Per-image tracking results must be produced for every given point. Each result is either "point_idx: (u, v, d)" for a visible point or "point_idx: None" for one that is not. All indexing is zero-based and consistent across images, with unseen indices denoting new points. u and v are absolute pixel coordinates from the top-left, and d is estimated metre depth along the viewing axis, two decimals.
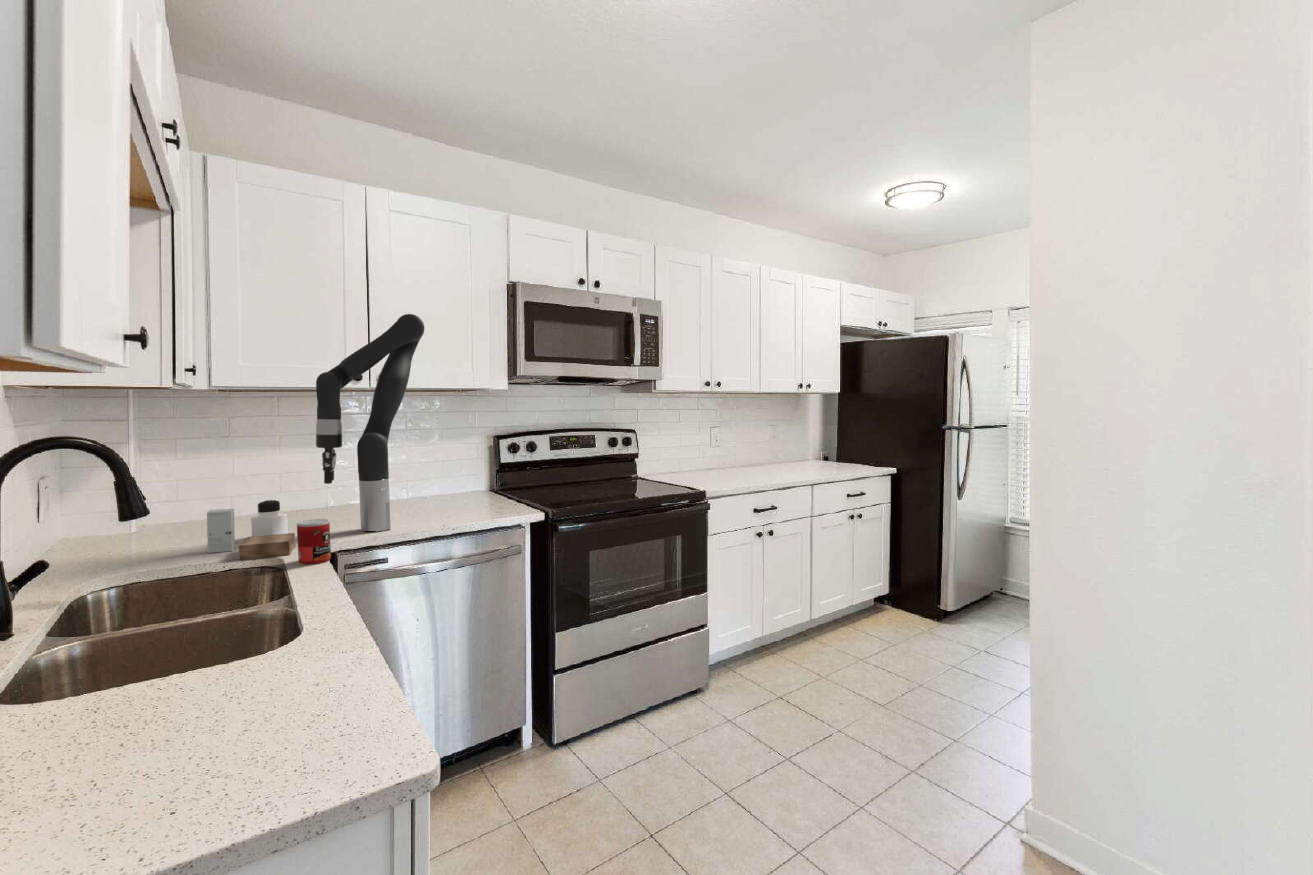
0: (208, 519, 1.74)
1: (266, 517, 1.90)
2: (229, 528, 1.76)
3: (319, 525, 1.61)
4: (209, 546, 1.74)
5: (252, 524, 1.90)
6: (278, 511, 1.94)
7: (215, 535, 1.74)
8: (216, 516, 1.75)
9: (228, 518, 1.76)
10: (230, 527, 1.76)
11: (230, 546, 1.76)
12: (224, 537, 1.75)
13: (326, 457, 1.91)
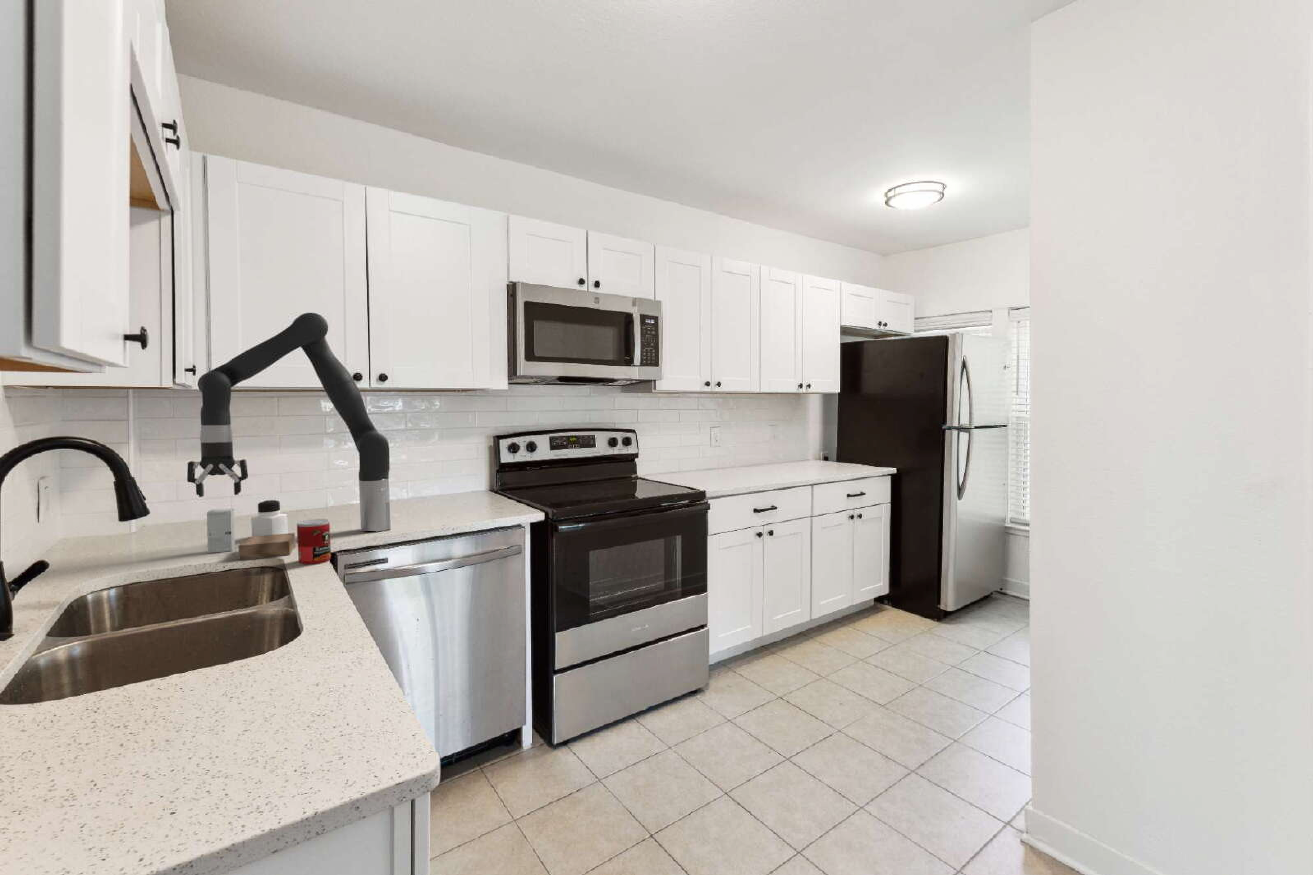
0: (208, 519, 1.74)
1: (266, 517, 1.90)
2: (229, 528, 1.76)
3: (319, 525, 1.61)
4: (209, 546, 1.74)
5: (252, 524, 1.90)
6: (278, 511, 1.94)
7: (215, 535, 1.74)
8: (216, 516, 1.75)
9: (228, 518, 1.76)
10: (230, 527, 1.76)
11: (230, 546, 1.76)
12: (224, 537, 1.75)
13: (245, 465, 1.78)
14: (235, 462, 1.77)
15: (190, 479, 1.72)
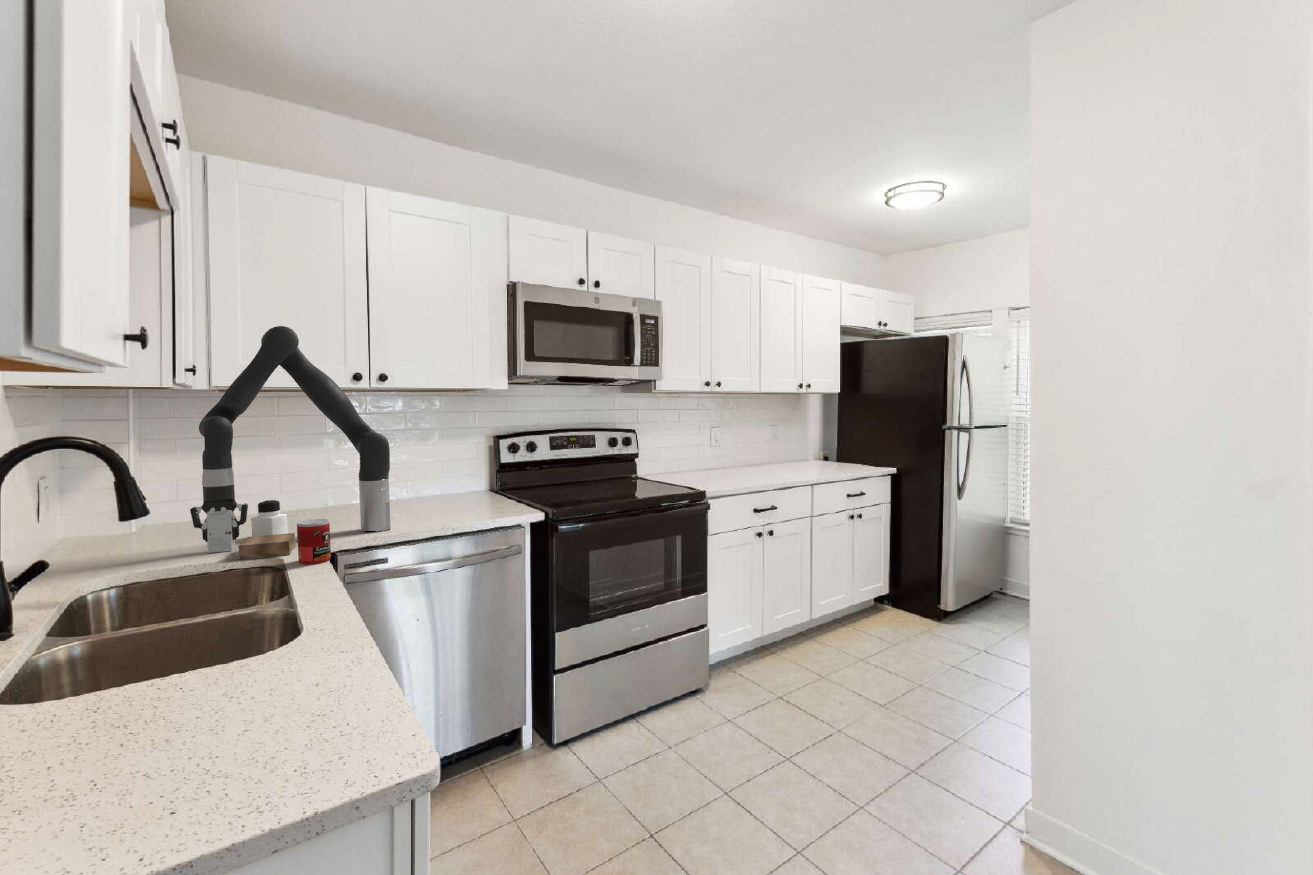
0: (208, 519, 1.74)
1: (266, 517, 1.90)
2: (229, 528, 1.76)
3: (319, 525, 1.61)
4: (209, 546, 1.74)
5: (252, 524, 1.90)
6: (278, 511, 1.94)
7: (215, 535, 1.74)
8: (216, 516, 1.75)
9: (228, 518, 1.76)
10: (230, 527, 1.76)
11: (230, 546, 1.76)
12: (224, 537, 1.75)
13: (246, 510, 1.79)
14: (237, 506, 1.78)
15: (196, 525, 1.73)
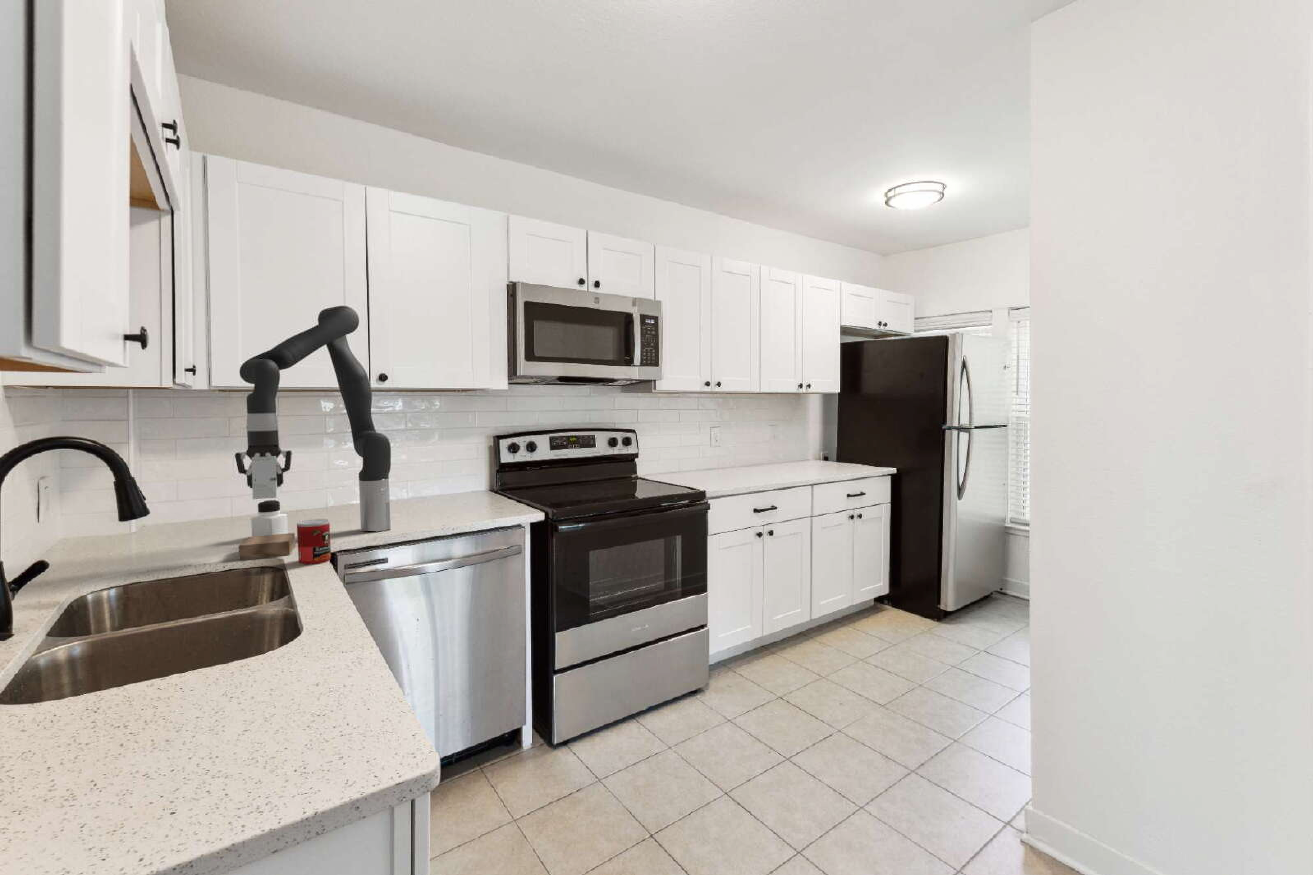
0: (253, 464, 1.70)
1: (266, 517, 1.90)
2: (273, 475, 1.72)
3: (319, 525, 1.61)
4: (254, 492, 1.70)
5: (252, 524, 1.90)
6: (278, 511, 1.94)
7: (260, 481, 1.71)
8: (260, 462, 1.71)
9: (272, 464, 1.72)
10: (275, 473, 1.72)
11: (275, 493, 1.72)
12: (268, 483, 1.72)
13: (290, 456, 1.75)
14: (281, 452, 1.74)
15: (241, 470, 1.70)
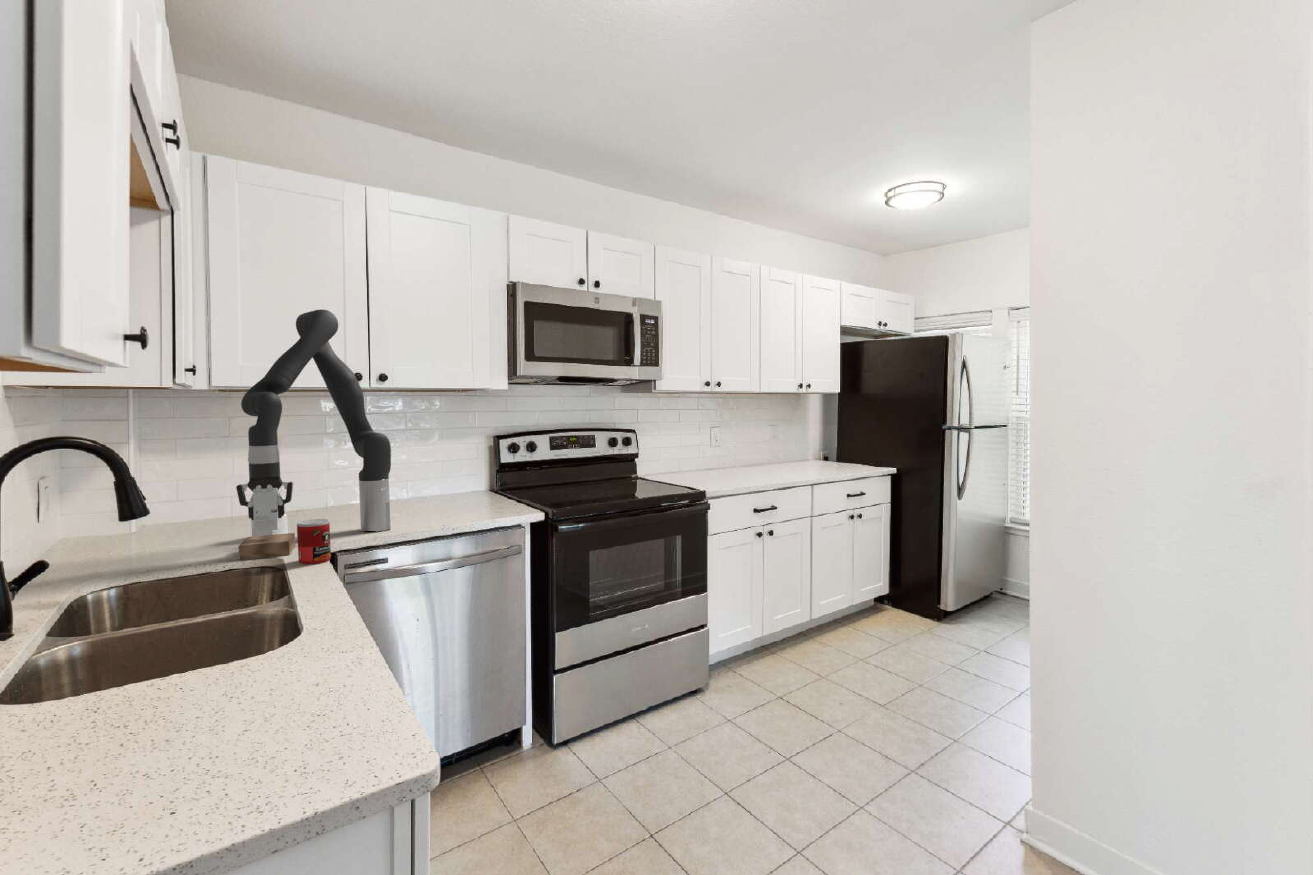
0: (254, 497, 1.71)
1: None
2: (275, 507, 1.73)
3: (319, 525, 1.61)
4: (255, 524, 1.71)
5: (252, 524, 1.90)
6: None
7: (261, 513, 1.71)
8: (262, 494, 1.71)
9: (274, 496, 1.73)
10: (276, 505, 1.73)
11: (276, 524, 1.73)
12: (270, 515, 1.72)
13: (291, 488, 1.76)
14: (282, 484, 1.75)
15: (242, 502, 1.70)
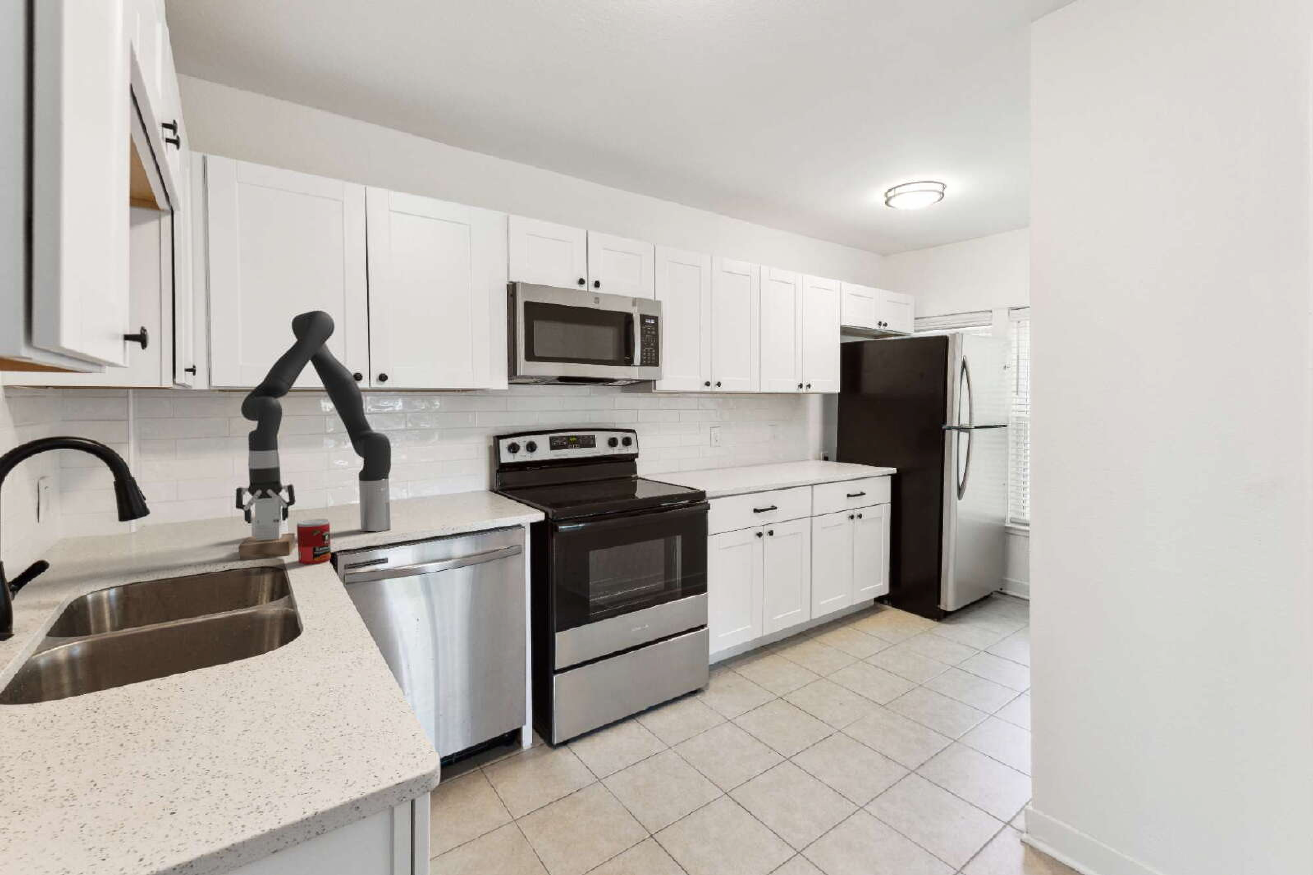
0: (256, 506, 1.71)
1: None
2: (276, 516, 1.73)
3: (319, 525, 1.61)
4: (257, 534, 1.71)
5: (252, 524, 1.90)
6: None
7: (263, 522, 1.72)
8: (264, 503, 1.72)
9: (275, 506, 1.73)
10: (278, 515, 1.73)
11: (278, 534, 1.73)
12: (271, 525, 1.72)
13: (293, 490, 1.76)
14: (283, 487, 1.75)
15: (239, 506, 1.70)
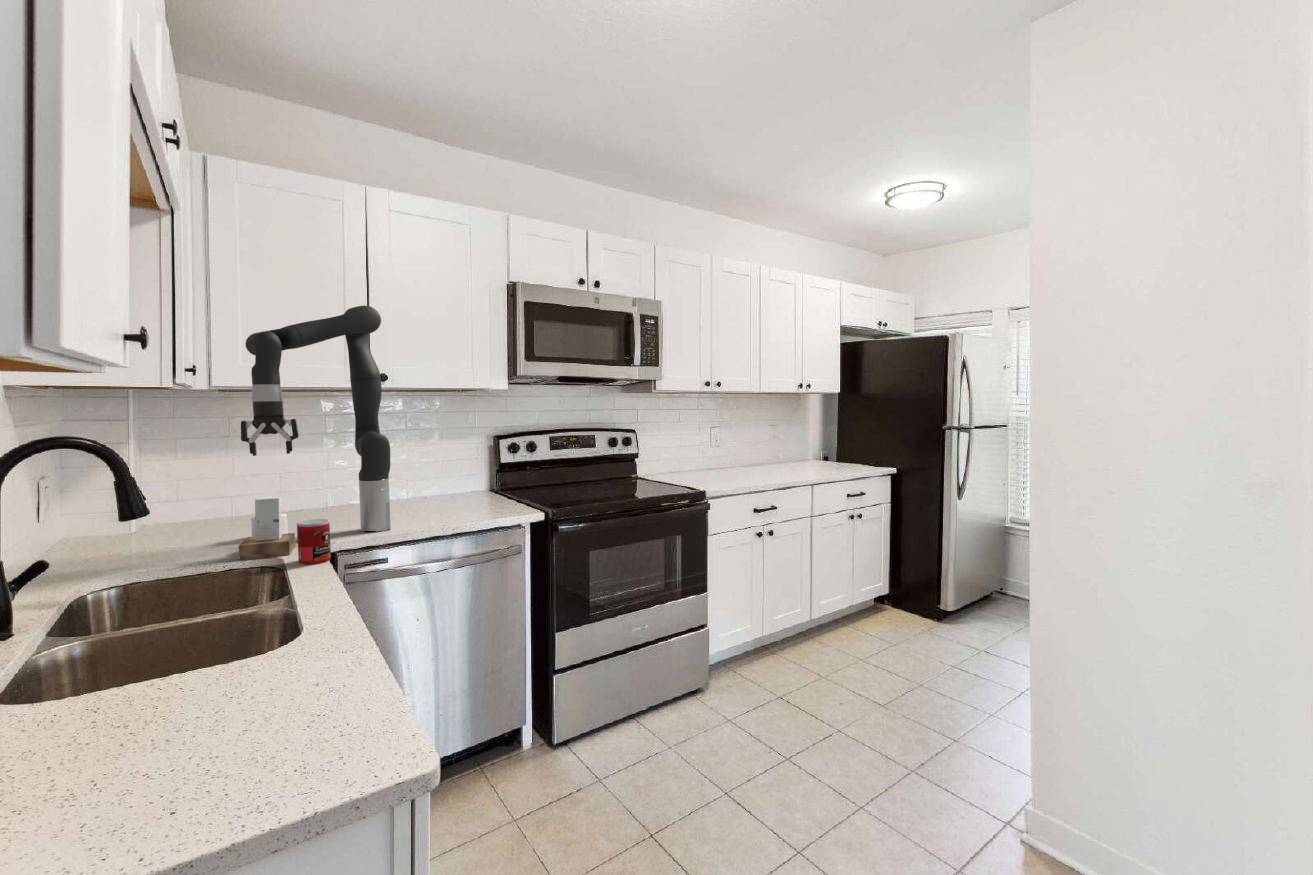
0: (256, 506, 1.71)
1: None
2: (276, 516, 1.73)
3: (319, 525, 1.61)
4: (257, 534, 1.71)
5: (252, 524, 1.90)
6: None
7: (263, 522, 1.72)
8: (264, 503, 1.72)
9: (275, 506, 1.73)
10: (278, 515, 1.73)
11: (278, 534, 1.73)
12: (271, 525, 1.72)
13: (296, 424, 1.81)
14: (286, 421, 1.79)
15: (244, 438, 1.74)
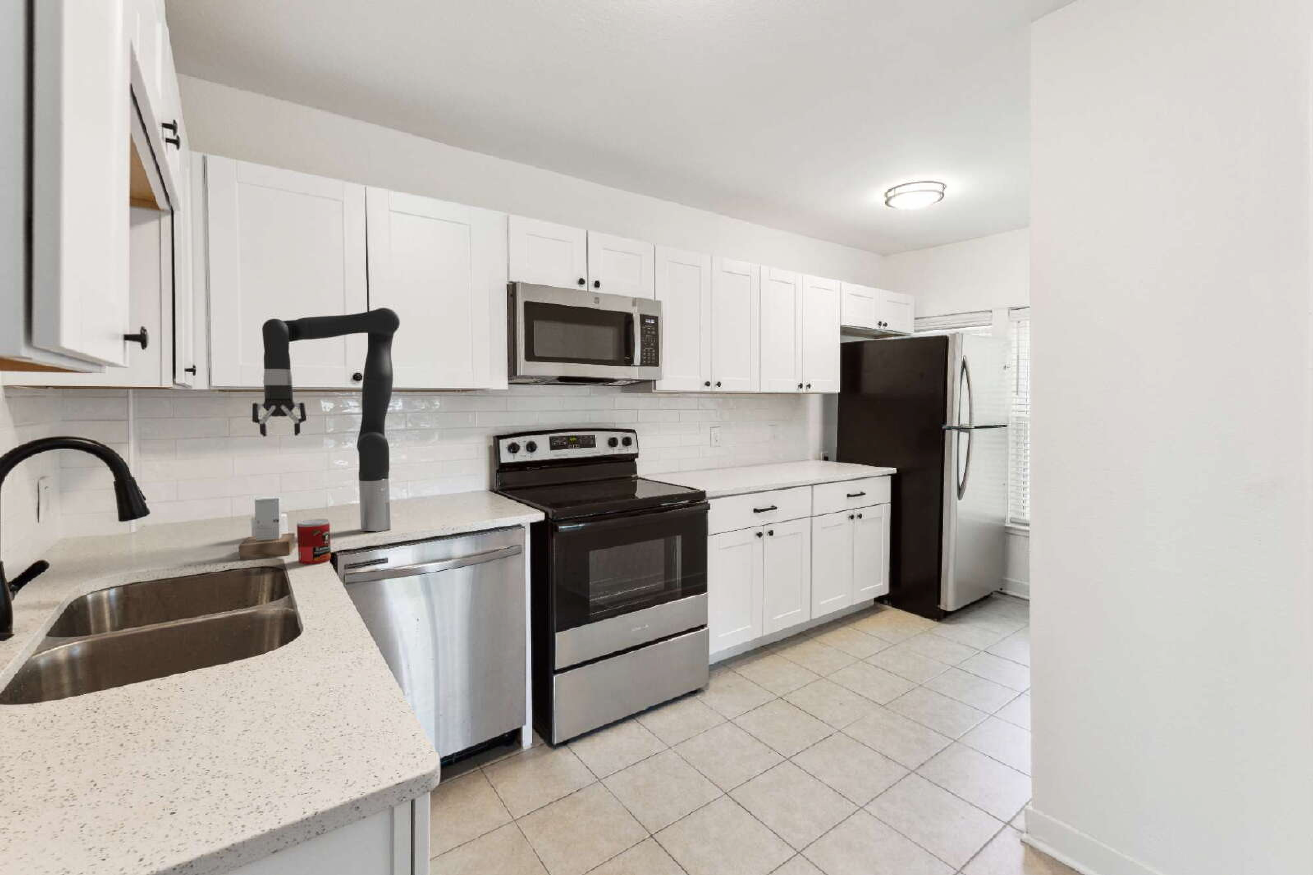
0: (256, 506, 1.71)
1: None
2: (276, 516, 1.73)
3: (319, 525, 1.61)
4: (257, 534, 1.71)
5: (252, 524, 1.90)
6: None
7: (263, 522, 1.72)
8: (264, 503, 1.72)
9: (275, 506, 1.73)
10: (278, 515, 1.73)
11: (278, 534, 1.73)
12: (271, 525, 1.72)
13: (304, 407, 1.91)
14: (295, 405, 1.89)
15: (255, 419, 1.85)
